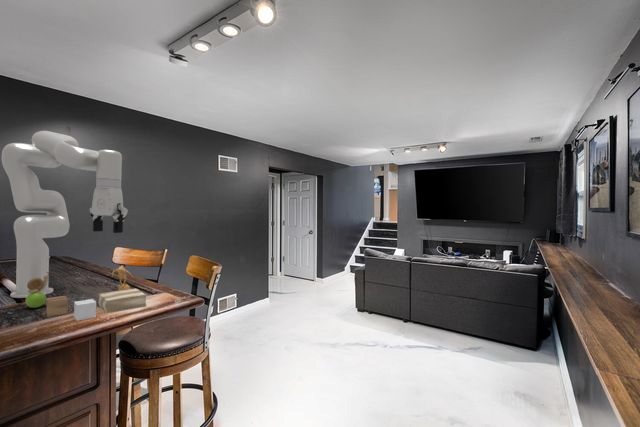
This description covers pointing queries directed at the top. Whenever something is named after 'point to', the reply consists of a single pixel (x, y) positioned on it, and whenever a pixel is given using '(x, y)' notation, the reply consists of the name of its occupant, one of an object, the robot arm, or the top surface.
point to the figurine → (121, 271)
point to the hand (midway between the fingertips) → (107, 231)
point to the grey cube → (84, 309)
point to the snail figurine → (36, 292)
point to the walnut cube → (56, 306)
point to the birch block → (122, 300)
